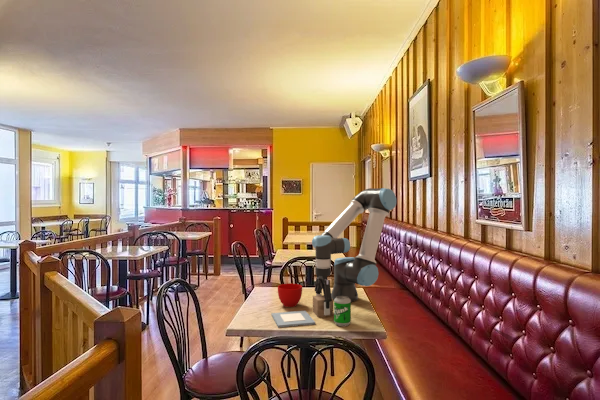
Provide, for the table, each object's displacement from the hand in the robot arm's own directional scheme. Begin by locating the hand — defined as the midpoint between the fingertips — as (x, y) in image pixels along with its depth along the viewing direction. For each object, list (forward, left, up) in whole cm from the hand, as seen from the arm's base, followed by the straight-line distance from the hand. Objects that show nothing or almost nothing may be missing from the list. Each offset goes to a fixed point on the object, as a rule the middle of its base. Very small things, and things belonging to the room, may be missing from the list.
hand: (322, 310), depth 180 cm
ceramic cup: (+12, -19, -2) cm, 22 cm away
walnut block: (0, 0, -2) cm, 2 cm away
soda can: (-4, +16, -2) cm, 17 cm away
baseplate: (+16, +5, -1) cm, 17 cm away
